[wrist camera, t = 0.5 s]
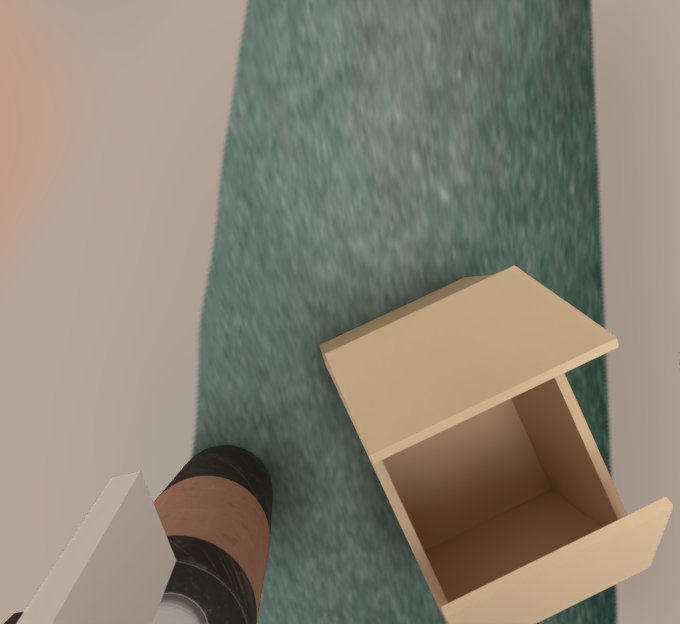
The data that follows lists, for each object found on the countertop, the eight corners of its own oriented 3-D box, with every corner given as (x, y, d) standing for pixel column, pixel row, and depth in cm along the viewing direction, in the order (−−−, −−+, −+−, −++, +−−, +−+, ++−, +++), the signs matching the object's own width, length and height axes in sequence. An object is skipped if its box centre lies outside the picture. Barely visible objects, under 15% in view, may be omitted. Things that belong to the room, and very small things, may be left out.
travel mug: (213, 420, 45) (142, 519, 25) (296, 479, 46) (290, 622, 26) (152, 504, 45) (31, 669, 25) (236, 562, 46) (183, 769, 26)
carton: (559, 491, 47) (646, 558, 35) (419, 559, 47) (459, 651, 35) (463, 277, 46) (519, 271, 34) (319, 344, 46) (324, 362, 34)
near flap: (327, 361, 34) (324, 354, 33) (516, 272, 34) (514, 265, 34) (373, 463, 26) (369, 455, 25) (618, 347, 26) (617, 337, 26)
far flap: (643, 559, 35) (649, 567, 35) (461, 649, 34) (466, 658, 34) (665, 496, 28) (673, 505, 28) (440, 607, 28) (445, 618, 27)
